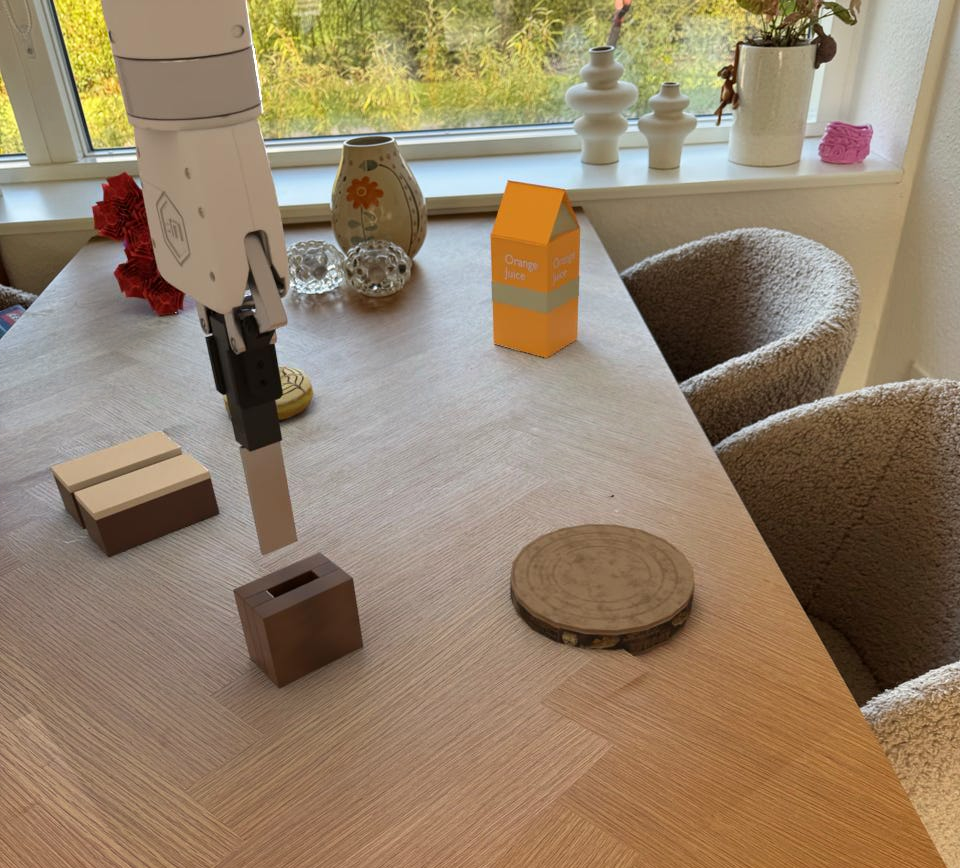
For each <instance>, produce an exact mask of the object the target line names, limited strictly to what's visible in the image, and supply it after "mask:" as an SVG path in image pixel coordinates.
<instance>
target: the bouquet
mask: <svg viewBox="0 0 960 868" xmlns="http://www.w3.org/2000/svg"><path fill="white" fill-rule="evenodd" d="M105 181H106V182H107V183H103V182H102V183H101V188H102V189H101V190H102V200H100V201H99V200H98V201H96V202H95V204H96V205H92V206H91V211H92V216H93V229H94V230H98V231H97V235H98V236H101V237H104V238H109V239H111V240H114V241H116V242H120V241H121V242H122V243H123V244H122V245H123V247H124V249H123V252H124V254H125V257H126V259H127V260H126V261H125V262H123V263H119V264H118V265H117V267H116V268H115V270H114V271H113V276H114V277H115V279H116V282H117V283H118V286H119V289H120V293H124V294H125V298H126V299H130V298H136V299H141V300H146V301H147V302H148V303H149V306H150V308H151V310H152V312H153V313H154V312H155V313H156V314H157V316H158V315H161V316H163V315H172V314H171V313H175V312H177V311H178V312H179V311H183V312H184V299H185V295H186V294H185V293H184V292H182V291H180V290H179V289H177V288H176V287H174V286H173V285H171V284H170V283H168V282H167V281H166V280H165V279H164V278H163V277H162V276H161V274H160V272H159V270H158V267H157V263H156V259H155V254H154V249H153V244H152V239H151V234H150V229H149V224H148V219H147V214H146V208H145V203H144V198H143V192H142V187H140V186H139V185H138V184H137V182H136V181H135V179H134V178H133V176H132V175H129V174H128V172H126V171H123V172H121V173H120V174H118V175H114V176H110V177H107V178H105Z"/></svg>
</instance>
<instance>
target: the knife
mask: <svg viewBox="0 0 960 868" xmlns="http://www.w3.org/2000/svg"><path fill="white" fill-rule="evenodd" d="M255 311H256V310H254V309H253V310H250V311H246V312H242V313H239V315H240V320H241V325H242V322H243V320H244V317H245V316H249V315H252V314H253V313H255ZM210 321H211V325H212V330H213V335H214V340H215V344H216V349H217V354H218V359H219V363H220V368H221V373H222V378H223V383H224V387H225V392H226V397H227V402H228V406H229V411H230V415H229V417H230V421H231V424H232V430H233V434H234V438H235V439H234V440H235V442H236V443H237V444H239V445H240V446H239V447H238V450H239V455H240V459H241V464H242V469H243V473H244V478H245V483H246V488H247V492H248V497H249V502H250V506H251V511H252V517H253V520H254V521H253V522H254V526H255V531H256V536H257V540H258V541H257V542H258V545H259V550H260V554H261V555H262V556H266V555H268V554H271V553H273V552H275V551H278V550H280V549H282V548H285V547H287V546H290V545H293V544H294V543H297V542H298V535H297V529H296V524H295V523H296V522H295V518H294V512H293V507H292V500H291V496H290V490H289V483H288V478H287V472H286V467H285V461H284V456H283V450H282V449H283V448H282V445H281V442H282V441H283V435H282V429H281V425H280V420H279V418H278V412H277V406H276V400H274V401H271V402H268V403H265V404H262V405H259V406H256V407H253V408H250V409H247V410H243V409H241V408H240V407H239V406H238V405H237V403H236V398H235V393H234V388H233V383H232V378H231V373H230V369H229V364H228V359H227V354H226V351H228V350H231V349H232V348H231V345H230V341H229V336H228V331H227V327H226V322H225V317H224V314H220V313H217V314H213V315H210Z"/></svg>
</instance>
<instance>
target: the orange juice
mask: <svg viewBox="0 0 960 868" xmlns="http://www.w3.org/2000/svg"><path fill="white" fill-rule="evenodd" d="M506 181H507V182H506V186H505V188H504V191H503V195H502V198H501V201H500V204H499V208H498V210H497V213H496V214H497V215H496V218H495V220H494V223H493V227H492V229H491V233H490V263H491V265H490V267H491V281H490V282H491V301H492V302H491V303H492V331H493V332H492V333H493V336H492V337H493V344H494V343H495V344H499V345H503V346H507V347H509V348H513V349H516V350H519V351H518V352H520V351H523V352H522V353H524V352H527V353H526V354H528V353H531V354H533V355H532V356H535V355H537V356H536V357H539V356H541V357H540V358H543V357H544V359H548V358H550V357H552V356H553V355H555V354H556V353H558V352H559V351H561V350H562V348H563V349H564V348H566V347H568V346H569V345H571V344H572V343H575V342H576V341H577V340H578V331H579V330H578V324H579V296H580V259H581V257H580V256H581V254H580V253H581V226H580V224H579V221H578V219H577V216H576V214H575V210H574V208H573V207H572V204H571V201H570V199H569V197H568V193H567V192H566V191H567V190H566V189H565V188H560V187H554V186H549V185H548V186H547V185H541V184H535V183H529V182H521V181H514V180H509V179H507V180H506ZM576 339H577V340H576ZM575 340H576V341H575ZM570 343H571V344H570ZM567 345H568V346H567ZM565 346H566V347H565ZM560 349H561V350H560ZM516 350H515V351H516ZM557 351H558V352H557ZM554 353H555V354H554ZM531 354H530V355H531ZM549 356H550V357H549Z"/></svg>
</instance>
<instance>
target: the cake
mask: <svg viewBox="0 0 960 868" xmlns="http://www.w3.org/2000/svg"><path fill="white" fill-rule="evenodd" d="M182 454H183V451H182V447H181V446H180V445H179V444H177V443H176V442H175V441H174V440H173V439H172V438H170V437H169V436H168V435H167V434H166V433H164V432H163V431H162V430H156V431H154V432H149V433H147V434H144V435H141V436H138V437H135V438H132V439H129V440H127V441H124V442H121V443H118V444H115V445H111V446H109V447H105V448H103V449H100V450H97V451H94V452H91V453H88V454H85V455H83V456H79V457H76V458H73V459H70V460H68V461H64V462H61V463H58V464H54V465H52V466H50V470H51V473H52V476H53V478H54V481H55V484H56V487H57V490H58V492H59V495H60V497H61V501H62V504H63V506H64V508H65V510H66V511H67V512H68V514H69V515H70V516H71V517H72V518H73V519H74V520H75V521H76V523H77V524H78V525H79V526H80V527H81V528H82V529H87V528H86V525H85V522H84V520H83V517H82V514H81V511H80V508H79V505H78V503H77V500H76V497H75V495H74V492H77V491H80V490H83V489H85V488H88V487H91V486H94V485H97V484H100V483H102V482H105V481H108V480H111V479H114V478H117V477H119V476H122V475H125V474H128V473H131V472H134V471H136V470H139V469H142V468H145V467H148V466H150V465H153V464H156V463H159V462H162V461H165V460H167V459H170V458H173V457H176V456H179V455H182Z"/></svg>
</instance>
